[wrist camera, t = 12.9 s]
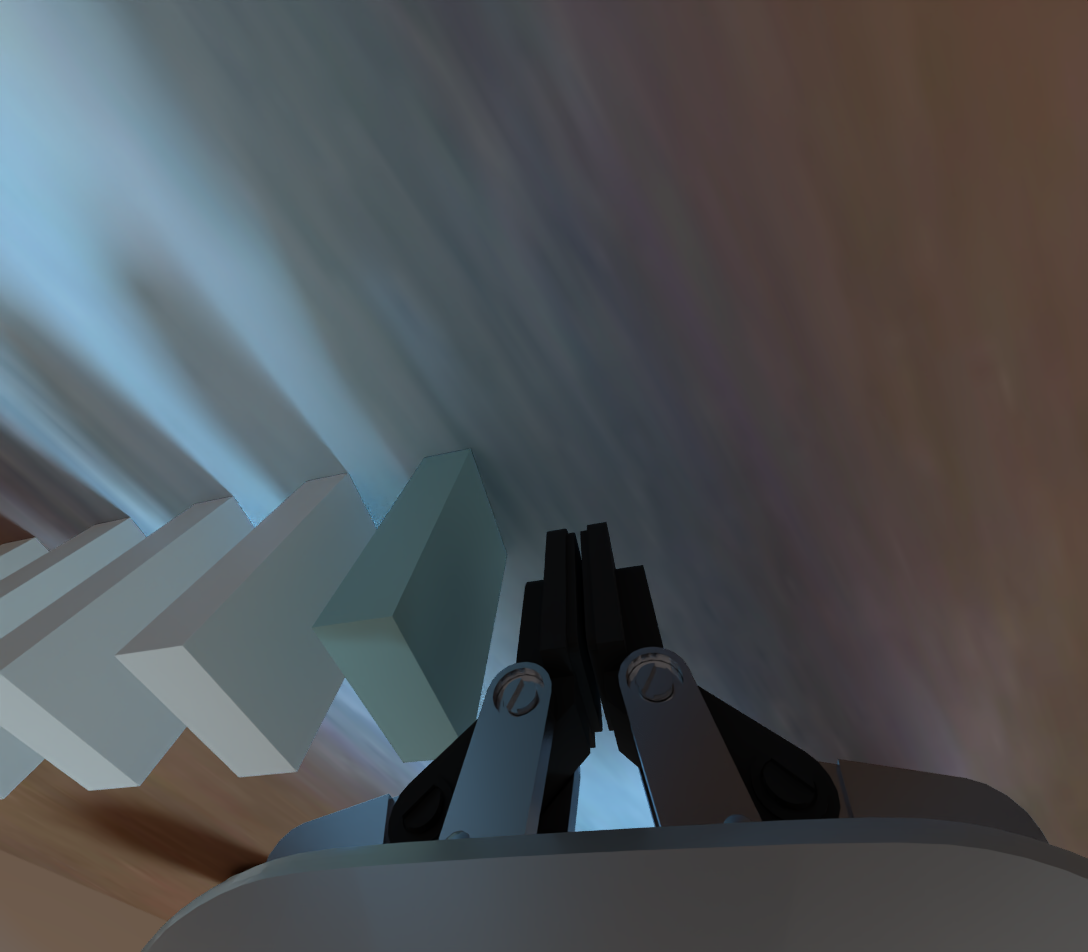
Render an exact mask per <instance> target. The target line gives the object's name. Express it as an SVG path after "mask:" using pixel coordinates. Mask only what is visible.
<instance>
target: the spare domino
mask: <svg viewBox="0 0 1088 952" xmlns="http://www.w3.org/2000/svg"><path fill="white" fill-rule="evenodd" d="M506 558H507V553H506V550H505V547H504V544H503V541H502V538H501V536H500V533H499V530H498V527H497V524H496V521H495V518H494V515H493V512H492V509H491V506H490V503H489V501H488V498H487V495H486V492H485V489H484V486H483V483H482V480H481V477H480V474H479V471H478V468H477V465H476V463H475V460H474V457H473V454H472V451H471V448H470V449H465V450H460V451H455V452H450V453H445V454H440V455H435V456H430V457H425V458H424V459H423V461H422V462H421V464H420V465H419V467H418V468H417V470H416V471H415V473H414V474H413V476H412V477H411V479H410V480H409V482H408V483H407V485H406V486H405V488H404V489H403V491H402V492H401V494H400V495H399V497H398V498H397V500H396V501H395V503H394V504H393V506H392V507H391V509H390V510H389V512H388V513H387V515H386V516H385V518H384V519H383V521H382V522H381V524H380V526H379V527H378V529H377V530H376V532H375V533H374V535H373V536H372V538H371V539H370V541H369V542H368V544H367V545H366V547H365V548H364V550H363V551H362V553H361V554H360V556H359V557H358V559H357V560H356V562H355V563H354V565H353V566H352V568H351V569H350V571H349V572H348V574H347V575H346V577H345V578H344V580H343V581H342V583H341V584H340V586H339V587H338V589H337V590H336V592H335V593H334V595H333V596H332V598H331V599H330V601H329V602H328V604H327V605H326V607H325V608H324V610H323V611H322V613H321V614H320V616H319V617H318V619H317V620H316V622H315V623H314V625H313V626H312V629H313V630H314V632H315V633H316V635H317V636H318V638H319V639H320V641H321V642H322V644H323V645H324V647H325V648H326V650H327V651H328V653H329V654H330V655H331V657H332V658H333V660H334V661H335V663H336V664H337V666H338V667H339V669H340V670H341V672H342V673H343V675H344V676H345V678H346V679H347V680H348V682H349V683H350V685H351V686H352V688H353V689H354V691H355V692H356V694H357V695H358V697H359V698H360V700H361V701H362V703H363V704H364V706H365V707H366V708H367V710H368V711H369V713H370V714H371V716H372V717H373V719H374V720H375V722H376V723H377V725H378V726H379V728H380V729H381V731H382V732H383V733H384V735H385V736H386V738H387V739H388V741H389V742H390V744H391V745H392V747H393V748H394V750H395V751H396V753H397V754H398V756H399V757H400V759H401V760H402V761H403V763H404V762H415V761H427V760H435V759H436V758H437V757H438V756H439V755H440V754H441V753H442V752H443V751H444V750H445V749H446V748H447V747H448V746H450V745H451V744H452V743H453V742H454V741H455V740H456V739H457V738H458V737H459V736H460V735H461V734H462V733H463V732H464V731H465V730H466V729H467V728H469V727H470V726H471V725H472V724H473V723H474V722H475V721H476V717H477V712H478V707H479V701H480V696H481V691H482V685H483V680H484V675H485V670H486V664H487V659H488V654H489V648H490V643H491V638H492V633H493V627H494V622H495V617H496V611H497V606H498V601H499V596H500V590H501V585H502V580H503V574H504V569H505V564H506Z"/></svg>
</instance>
